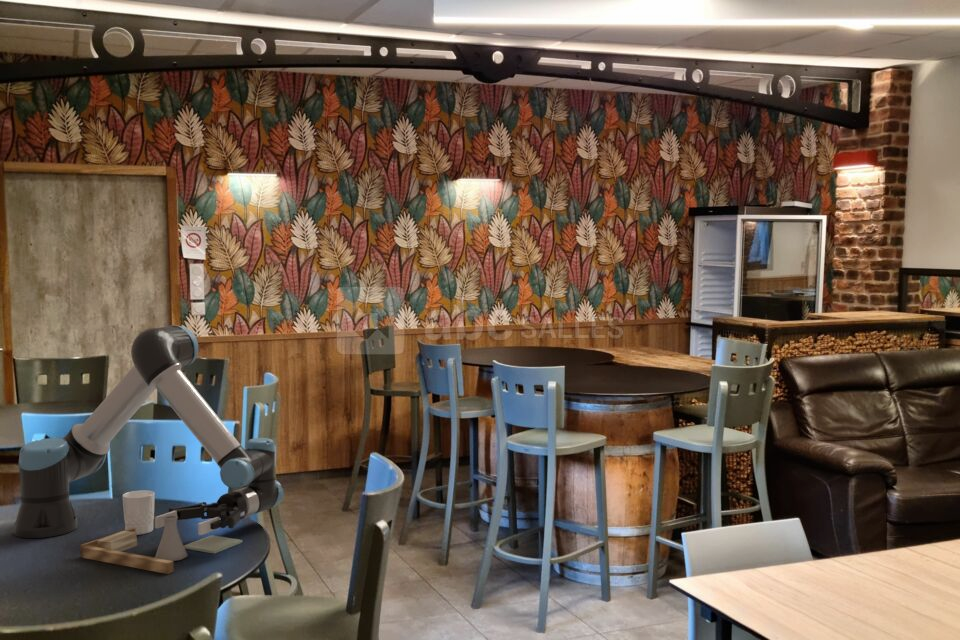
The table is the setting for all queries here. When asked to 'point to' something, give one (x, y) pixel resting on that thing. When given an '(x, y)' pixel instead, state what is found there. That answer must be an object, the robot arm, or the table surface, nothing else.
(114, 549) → the offcut low
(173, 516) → the flask
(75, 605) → the table surface
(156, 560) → the corner fence
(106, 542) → the offcut top
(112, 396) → the robot arm
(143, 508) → the white cup
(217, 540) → the coaster
